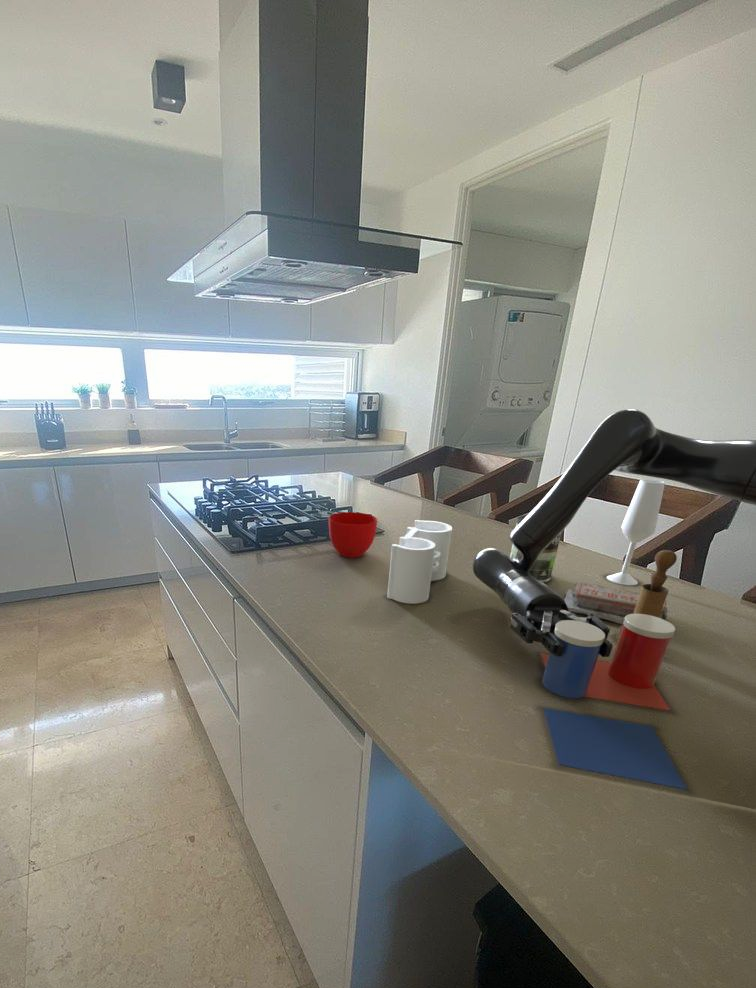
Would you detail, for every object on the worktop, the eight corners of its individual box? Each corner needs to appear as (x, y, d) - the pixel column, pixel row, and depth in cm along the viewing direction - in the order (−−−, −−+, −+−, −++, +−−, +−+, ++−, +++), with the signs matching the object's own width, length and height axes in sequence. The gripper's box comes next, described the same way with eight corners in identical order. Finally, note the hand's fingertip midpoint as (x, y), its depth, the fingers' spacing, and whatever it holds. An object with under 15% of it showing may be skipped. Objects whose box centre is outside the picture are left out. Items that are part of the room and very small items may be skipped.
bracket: (426, 607, 103) (433, 553, 98) (382, 598, 106) (387, 545, 101) (449, 570, 123) (456, 523, 118) (411, 563, 127) (416, 518, 122)
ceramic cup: (384, 546, 140) (387, 512, 136) (366, 564, 126) (368, 527, 122) (341, 540, 145) (343, 507, 141) (320, 557, 131) (321, 520, 126)
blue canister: (582, 678, 78) (598, 623, 74) (592, 702, 73) (610, 643, 68) (538, 671, 80) (552, 617, 76) (544, 694, 74) (559, 637, 70)
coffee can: (553, 573, 122) (566, 518, 117) (547, 586, 114) (561, 528, 109) (510, 565, 127) (521, 512, 122) (502, 577, 119) (513, 521, 113)
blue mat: (651, 727, 68) (651, 726, 68) (687, 791, 57) (687, 789, 57) (543, 709, 71) (543, 707, 71) (558, 766, 61) (558, 764, 61)
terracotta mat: (642, 669, 82) (642, 667, 82) (670, 711, 71) (670, 710, 71) (540, 654, 86) (540, 653, 86) (551, 692, 75) (552, 691, 75)
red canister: (646, 670, 81) (665, 616, 77) (661, 692, 75) (683, 635, 71) (602, 663, 83) (619, 611, 78) (613, 685, 77) (632, 629, 73)
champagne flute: (643, 581, 118) (675, 482, 108) (630, 587, 115) (662, 485, 105) (614, 573, 123) (643, 477, 114) (601, 578, 120) (629, 480, 110)
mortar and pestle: (619, 647, 88) (650, 553, 81) (613, 632, 94) (641, 542, 86) (661, 654, 86) (697, 559, 79) (653, 638, 92) (685, 547, 84)
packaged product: (668, 593, 99) (671, 611, 92) (661, 615, 101) (663, 634, 94) (571, 575, 108) (566, 590, 100) (566, 595, 110) (560, 611, 102)
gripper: (497, 583, 84) (542, 628, 69) (578, 584, 85) (640, 629, 70) (489, 622, 87) (530, 673, 72) (568, 622, 88) (625, 673, 73)
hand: (584, 651), depth 71 cm, fingers closed on blue canister, 6 cm apart
